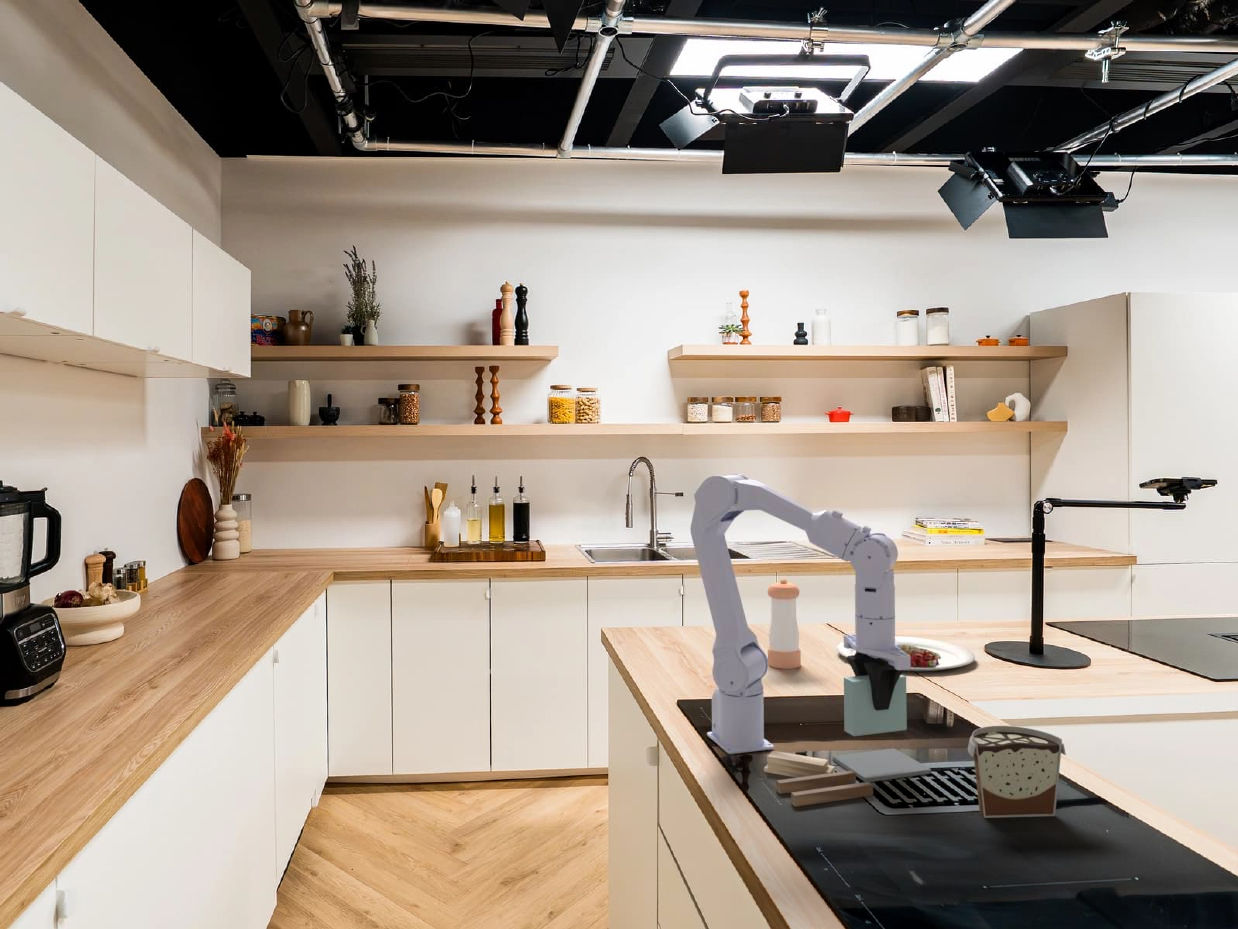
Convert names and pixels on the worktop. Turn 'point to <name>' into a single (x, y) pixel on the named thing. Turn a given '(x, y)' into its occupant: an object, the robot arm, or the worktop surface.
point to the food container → (1016, 771)
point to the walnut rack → (824, 788)
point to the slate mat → (881, 765)
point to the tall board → (872, 708)
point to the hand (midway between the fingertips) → (875, 706)
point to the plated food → (927, 653)
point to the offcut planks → (796, 765)
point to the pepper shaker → (783, 626)
